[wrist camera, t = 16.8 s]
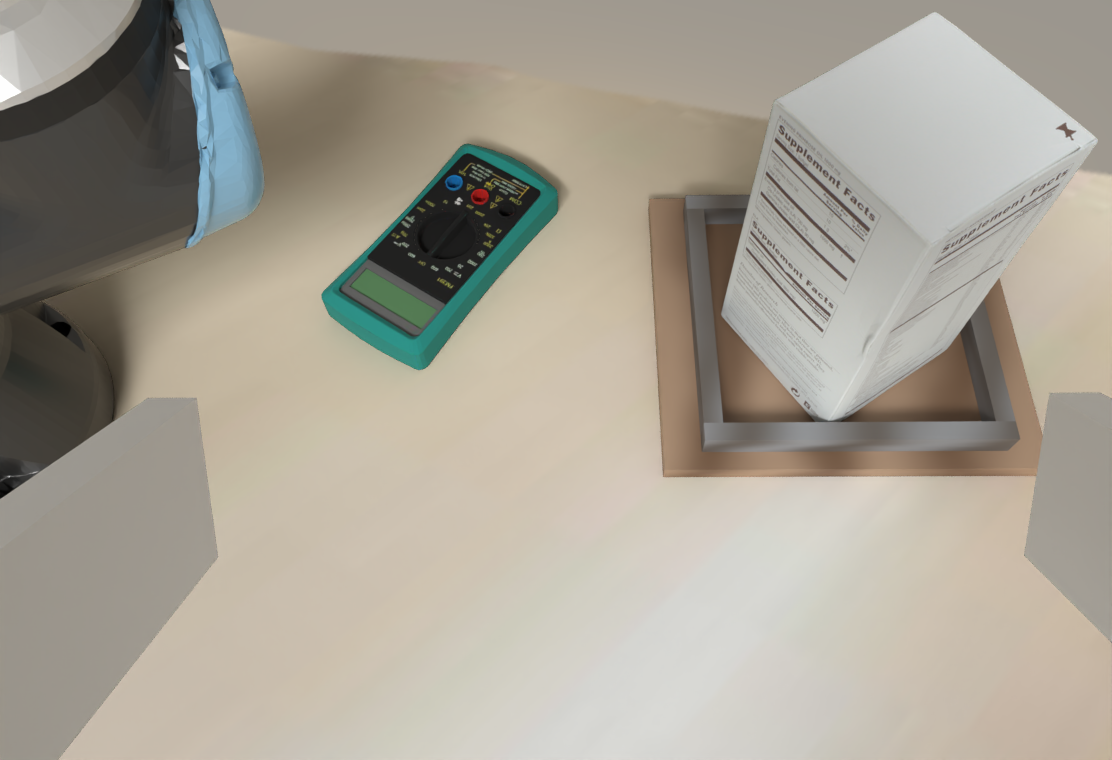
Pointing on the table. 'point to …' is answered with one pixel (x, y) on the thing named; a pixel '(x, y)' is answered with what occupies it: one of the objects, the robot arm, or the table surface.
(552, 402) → the table surface
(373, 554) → the table surface
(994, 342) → the carrier plate
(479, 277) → the digital multimeter
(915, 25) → the supplement box
